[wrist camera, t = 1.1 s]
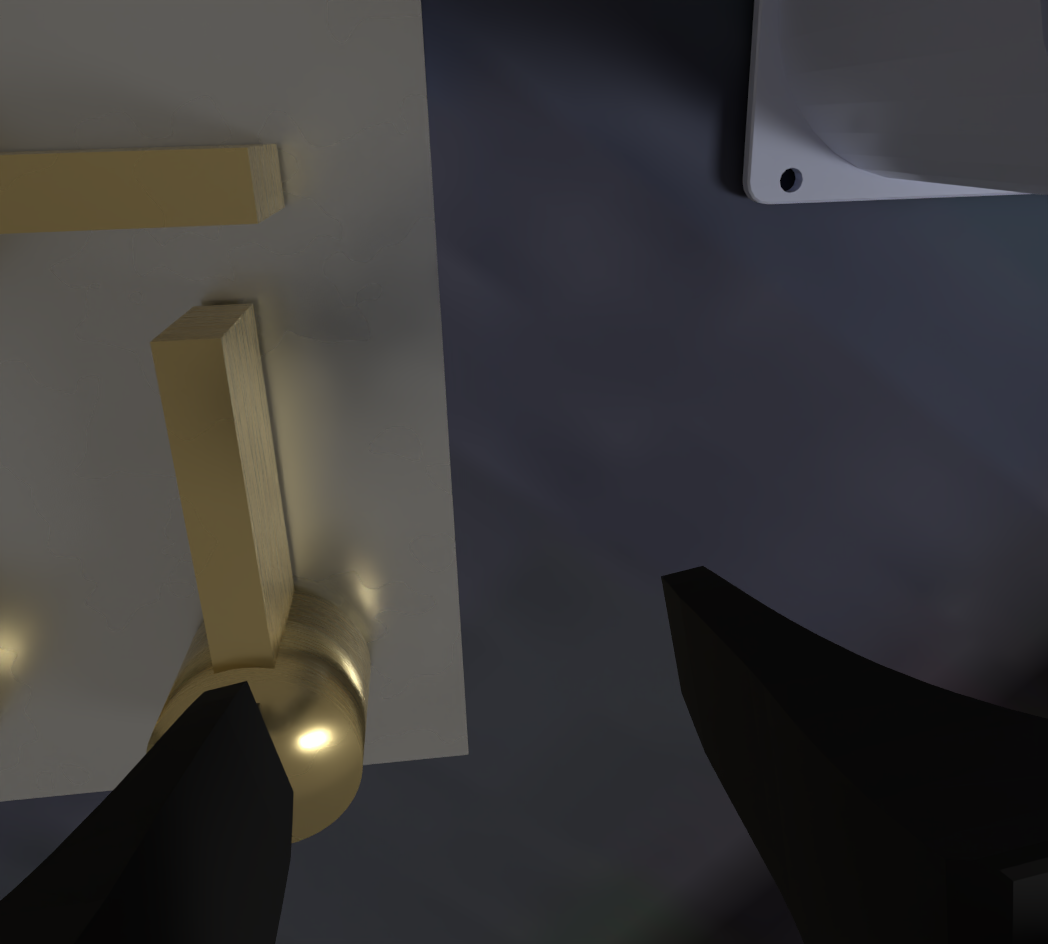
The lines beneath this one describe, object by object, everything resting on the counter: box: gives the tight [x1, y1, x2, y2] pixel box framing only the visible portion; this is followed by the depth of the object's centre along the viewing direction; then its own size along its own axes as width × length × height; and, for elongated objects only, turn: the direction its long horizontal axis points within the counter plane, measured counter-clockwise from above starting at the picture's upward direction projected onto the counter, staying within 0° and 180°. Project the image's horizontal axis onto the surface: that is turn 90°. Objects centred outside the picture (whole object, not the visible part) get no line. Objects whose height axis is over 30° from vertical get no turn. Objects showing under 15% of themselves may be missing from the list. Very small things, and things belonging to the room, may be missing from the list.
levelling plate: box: [0, 0, 469, 801], centre depth 17 cm, size 17×20×6 cm
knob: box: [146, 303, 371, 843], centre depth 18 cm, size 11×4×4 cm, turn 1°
